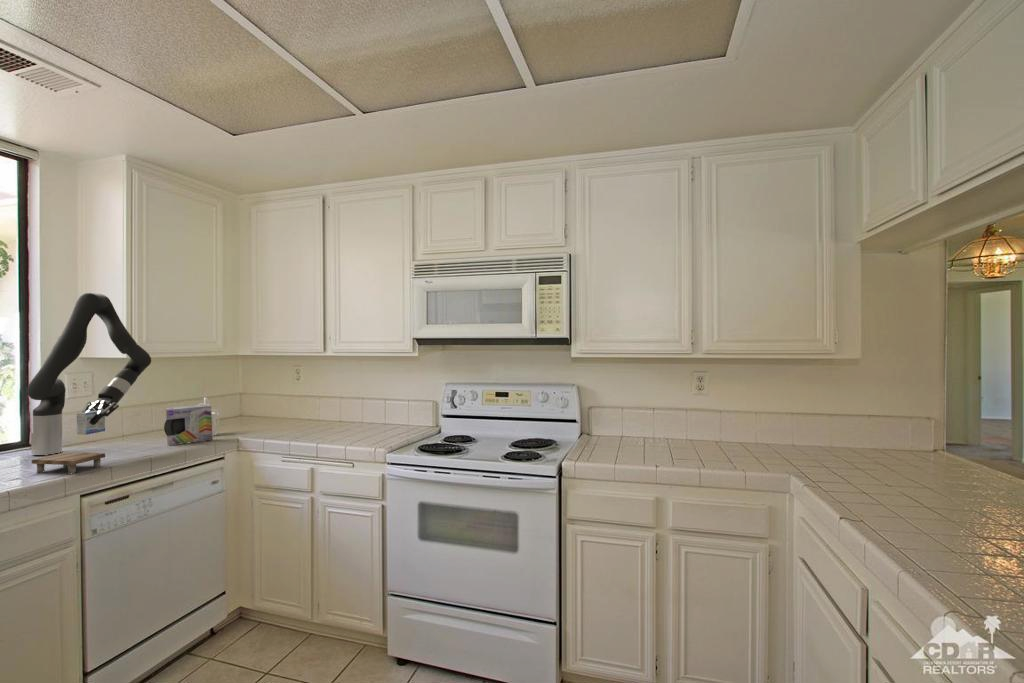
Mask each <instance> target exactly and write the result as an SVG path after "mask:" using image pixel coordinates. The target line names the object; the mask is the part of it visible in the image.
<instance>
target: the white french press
mask: <svg viewBox="0 0 1024 683" xmlns="http://www.w3.org/2000/svg"><path fill="white" fill-rule="evenodd" d="M199 405H210V401H209V398H208V397H207V396H206V397H203V403H202V402H201V403H199V404H197V405H196V406H199ZM212 411H214V412H212ZM215 411H216V412H215ZM211 412H212V435H213V437H214V435H215V436H217V435H218V434H217V426H220V412H219V410H216V409H212V408H211Z"/></svg>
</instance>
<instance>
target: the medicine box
mask: <svg viewBox="0 0 1024 683" xmlns="http://www.w3.org/2000/svg"><path fill="white" fill-rule="evenodd" d="M97 412H98V411H96V410H94V411H91V412H84V413H81V412H77V413H76V435H84V436H86V435H92V434H96V433H101V432H105V431H106V416H104V417H103V418H101V419H100V420H99V421H98V422H97V423H96V424H95V425H92V424H90V423H89V422H90V420H91V419H92V418H93V417H94V416H95V415H97Z"/></svg>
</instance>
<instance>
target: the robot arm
mask: <svg viewBox="0 0 1024 683" xmlns="http://www.w3.org/2000/svg"><path fill="white" fill-rule="evenodd" d="M95 315H96V316H98V318H99V319H101V321H102V322H103V323H104V325H105V327H106V329H107V332H108V336H109V338H110V340H111V342H112V344H113V345H114V346H115V347H116V348H117V350H118V351H119V353H121V354H122V355H127V356H128V357H129V358H130V359H129V360H128V361H127V363H126V364H125V365H124V366H123V368H122V369H120V371H119V372H117V374H116V375H115V376H114V377H113V378H112V379H111V380H110V381H109V382H107V384H106V385H105V386H104V388H102V389H101V391H100V392H98V395H97V397H98V398H97V399H96V400H94V401H93V402H91V401H87V402H86V403H85V405H84V407H83V409H82V410H81V412H80V413H84V412H91V411H98V412H97V415H95V416H94V417H93V418H92V419H91V420H90V422H89V423H90V424H92V425H95V424H96V423H97V422H98V421H99V420H100V419H101V418H103V417H104V416H105V418H106V417H108V416H110V415H111V414H112V413H114V411H116V410H117V409H118V408H119V407H120V405H119V402H120V401H121V400H122V399H123V397H124V396H125V395H126V394H127V393H128V391H129V390H130V388H131V387H132V386H133V385H134V383H135V382H136V381H137V379H138V377H139V376H140V375H142V373H143V372H144V371H145V370H146V369H147V368H148V367H149V366H150V365H151V363H152V357H151V356H150V354H149V352H148V351H146V350H145V349H144V348H143V347H142V346H140V345H139V344H138V343H137V342H136V340H135V339H134V338H133V337H132V335H131V333H130V332H129V330H127V328H126V327H125V325H124V323H123V321H122V320H121V318H120V316H119V315H118V313H117V311H116V309H115V307H114V305H113V303H112V301H111V299H110V298H109V297H108V296H106V295H105V294H102V293H95V292H85V293H83V294H81V295H79V297H78V298H77V300H76V302H75V304H74V306H73V309H72V311H71V314H70V317H69V318H68V321H67V322H66V324H65V326H64V327H63V328H62V331H61V333H60V335H59V336H58V337H57V340H56V341H55V343H54V345H53V347H52V348H51V350H50V352H49V354H48V356H47V358H46V359H45V360H44V363H43V364H42V366H41V367H40V369H39V370H38V372H37V373H36V374H35V376H33V378H32V380H30V382H29V383H28V386H27V390H26V392H27V396H28V397H29V399H32V400H34V401H40V403H39V405H38V406H36V407H34V409H33V410H32V432H31V434H30V438H31V440H30V443H31V448H30V449H31V453H30V454H33V455H45V456H49V455H48V454H52V455H55V454H54V453H58V454H60V452H61V453H63V409H64V407H65V403H66V386H65V383H64V382H63V380H62V379H60V378H58V377H59V376H60V374H61V373H62V372H63V371H64V370H65V369H67V367H68V366H70V365H71V364H72V363H73V362H75V361H76V360H77V358H78V357H79V356H80V354H81V353H82V352H83V349H84V348H85V346H86V344H87V340H88V338H87V337H88V327H89V325H90V322H91V321H92V319H93V317H94V316H95ZM33 455H32V456H33Z"/></svg>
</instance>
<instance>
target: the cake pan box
mask: <svg viewBox="0 0 1024 683" xmlns="http://www.w3.org/2000/svg"><path fill="white" fill-rule="evenodd" d="M211 409H212V405H211V404H209V405H204V404H200V405H198V406H197V405H188V406H187V405H186V406H185V405H184V406H176V407H174V406H173V407H167V408H166V409H165V413H166V415H165V416H166V418H165V419H166V420H165V422H164V426H163V429H164V430H163V431H164V433H165V435H166V442H167V446H168V445H169V446H172V445H171V444H178V445H180V444H179V443H186V444H189V443H188V442H195V443H198V442H197V441H202V442H206V441H205V440H210V441H213V440H214V438H213V437H214V436H213V435H212V410H211Z"/></svg>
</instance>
